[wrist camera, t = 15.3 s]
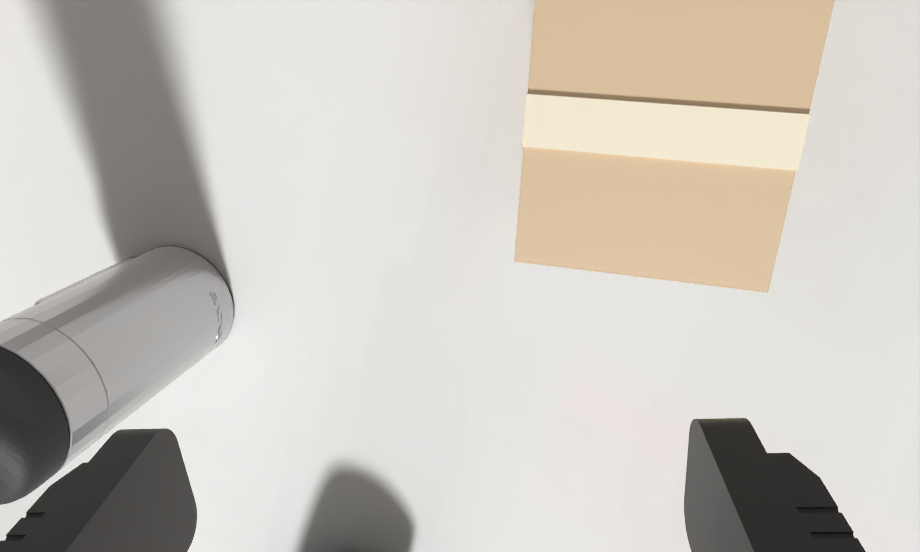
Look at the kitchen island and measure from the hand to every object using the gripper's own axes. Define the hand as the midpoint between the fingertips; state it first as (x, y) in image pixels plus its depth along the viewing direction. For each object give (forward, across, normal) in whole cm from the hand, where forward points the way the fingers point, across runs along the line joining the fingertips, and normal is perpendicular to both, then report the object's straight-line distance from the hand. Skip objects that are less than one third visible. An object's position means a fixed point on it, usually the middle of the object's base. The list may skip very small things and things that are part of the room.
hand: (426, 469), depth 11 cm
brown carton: (+34, -10, +1) cm, 36 cm away
